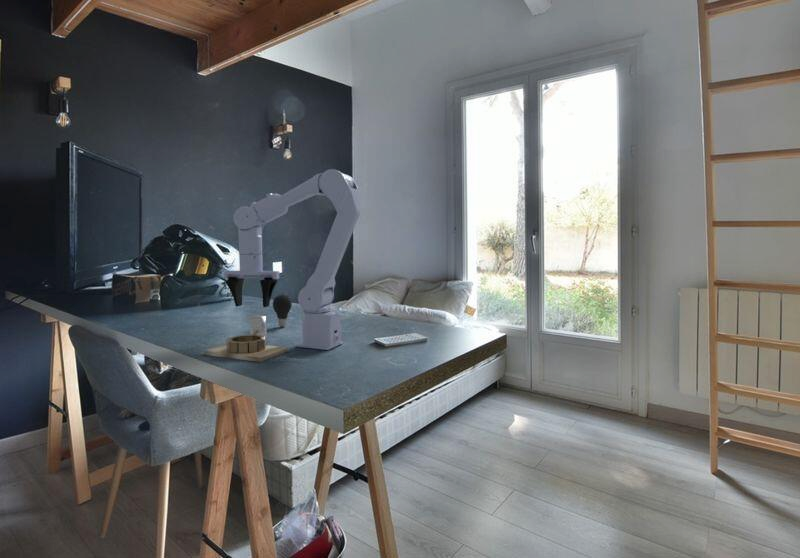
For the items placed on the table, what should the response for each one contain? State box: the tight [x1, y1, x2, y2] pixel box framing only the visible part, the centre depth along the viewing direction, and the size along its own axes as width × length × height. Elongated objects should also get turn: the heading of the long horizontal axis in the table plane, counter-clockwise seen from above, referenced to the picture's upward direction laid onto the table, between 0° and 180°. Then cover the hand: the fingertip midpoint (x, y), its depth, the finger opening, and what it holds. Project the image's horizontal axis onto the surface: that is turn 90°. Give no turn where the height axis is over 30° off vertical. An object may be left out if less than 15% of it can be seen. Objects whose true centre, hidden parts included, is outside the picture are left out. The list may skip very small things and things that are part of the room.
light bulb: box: [272, 294, 293, 328], centre depth 140 cm, size 6×6×10 cm
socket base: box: [203, 334, 288, 363], centre depth 109 cm, size 16×10×4 cm, turn 69°
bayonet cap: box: [249, 314, 268, 344], centre depth 119 cm, size 5×4×7 cm
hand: (252, 306), depth 121 cm, fingers open, 7 cm apart
